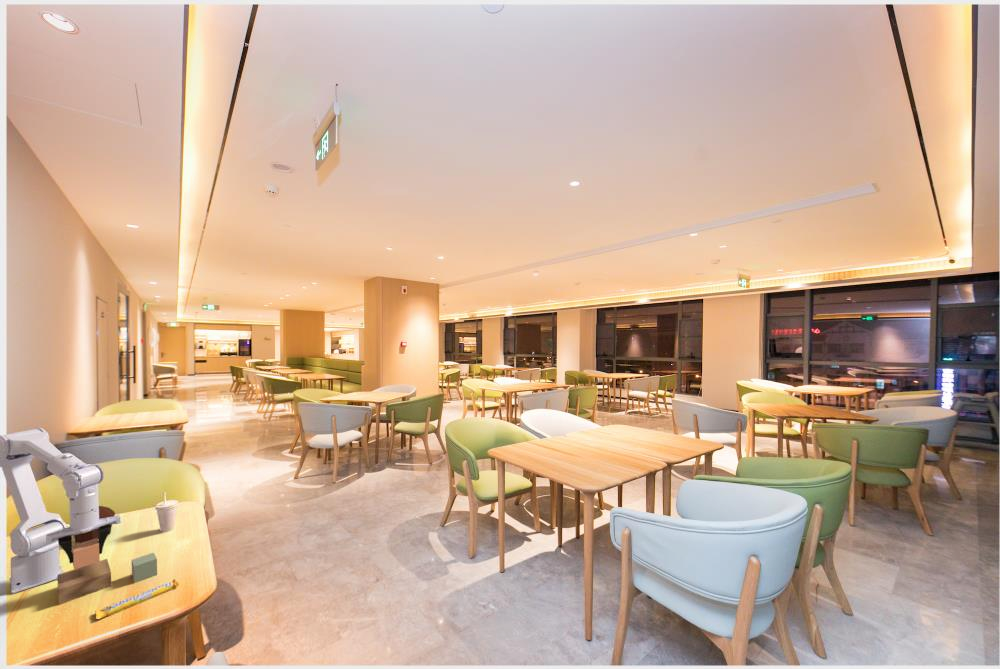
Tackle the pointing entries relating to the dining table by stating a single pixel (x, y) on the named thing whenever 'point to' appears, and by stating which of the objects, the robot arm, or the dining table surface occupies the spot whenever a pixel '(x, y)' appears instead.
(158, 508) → the smoothie
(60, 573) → the robot arm
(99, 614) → the candy bar
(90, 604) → the dining table surface
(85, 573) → the walnut block
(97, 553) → the terracotta cube
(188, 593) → the dining table surface
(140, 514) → the dining table surface
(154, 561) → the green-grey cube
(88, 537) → the muffin
